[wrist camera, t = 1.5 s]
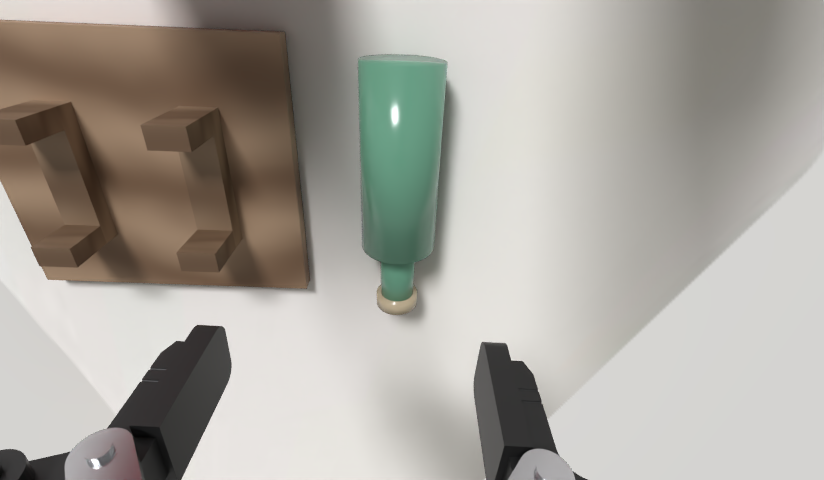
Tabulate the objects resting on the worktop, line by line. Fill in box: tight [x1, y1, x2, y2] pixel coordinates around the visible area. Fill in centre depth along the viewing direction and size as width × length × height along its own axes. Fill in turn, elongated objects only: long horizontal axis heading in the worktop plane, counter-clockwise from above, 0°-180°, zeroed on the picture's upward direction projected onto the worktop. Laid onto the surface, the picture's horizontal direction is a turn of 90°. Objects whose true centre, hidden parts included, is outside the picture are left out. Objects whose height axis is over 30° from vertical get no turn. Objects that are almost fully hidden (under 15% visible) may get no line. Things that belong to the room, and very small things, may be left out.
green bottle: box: [358, 54, 447, 315], centre depth 28 cm, size 17×5×5 cm, turn 178°
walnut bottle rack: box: [0, 20, 310, 289], centre depth 28 cm, size 18×20×6 cm
